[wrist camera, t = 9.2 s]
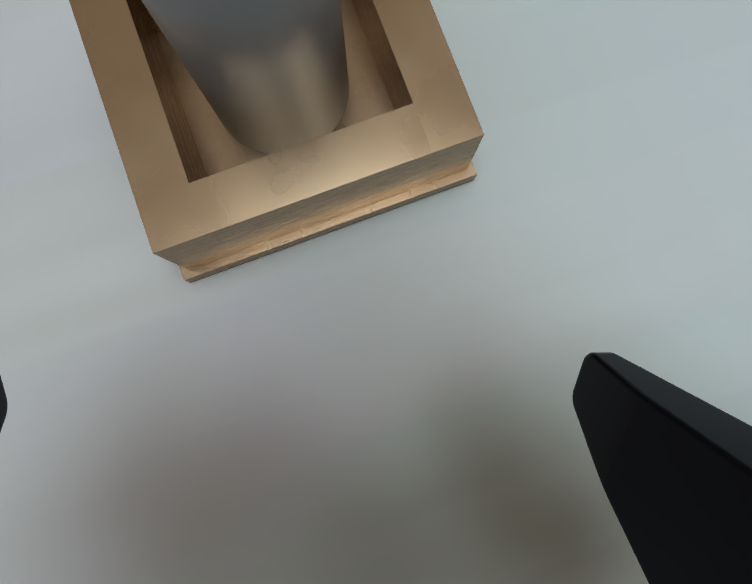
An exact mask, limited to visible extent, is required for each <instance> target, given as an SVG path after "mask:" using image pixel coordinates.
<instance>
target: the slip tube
mask: <svg viewBox="0 0 752 584" xmlns="http://www.w3.org/2000/svg"><path fill="white" fill-rule="evenodd" d="M141 1H142V2H143V4H144V5H145V7H146V8H147V10H148V11H149V13H150V15H151V16H152V18H153V19H154V21H155V22H156V24H157V25H158V27H159V28H160V30H161V31H162V33H163V34H164V36H165V37H166V39H167V40H168V42H169V43H170V45H171V46H172V48H173V49H174V51H175V52H176V54H177V55H178V57H179V59H180V60H181V62H182V63H183V65H184V66H185V68H186V69H187V71H188V72H189V74H190V75H191V77H192V78H193V80H194V81H195V83H196V84H197V86H198V87H199V89H200V90H201V92H202V93H203V95H204V96H205V98H206V99H207V101H208V102H209V104H210V106H211V107H212V109H213V110H214V112H215V113H216V115H217V116H218V118H219V119H220V121H221V122H222V124H223V125H224V127H225V128H226V129H227V130H228V132H229V133H230V134H231V135H232V136H233V137H234V138H235V139H237V140H238V141H239V142H241V143H242V144H244V145H246V146H247V147H249V148H251V149H254V150H257V151H259V152H263V153H268V154H272V153H275V152H278V151H281V150H283V149H286V148H289V147H292V146H295V145H297V144H300V143H303V142H306V141H309V140H312V139H314V138H317V137H320V136H323V135H326V134H328V133H331V132H332V131H333V130H334V129H335V127H336V126H337V125H338V123H339V122H340V120H341V118H342V117H343V114H344V112H345V109H346V106H347V102H348V96H349V79H348V69H347V59H346V49H345V39H344V29H343V19H342V9H341V0H141Z"/></svg>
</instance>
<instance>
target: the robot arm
mask: <svg viewBox="0 0 752 584" xmlns="http://www.w3.org/2000/svg"><path fill="white" fill-rule="evenodd" d="M573 405H574V408H575V411H576V414H577V417H578V419H579V422H580V425H581V428H582V431H583V433H584V436H585V439H586V442H587V445H588V448H589V450H590V453H591V456H592V459H593V462H594V464H595V467H596V470H597V473H598V475H599V478H600V480H601V483H602V485H603V488H604V490H605V492H606V494H607V497H608V499H609V501H610V503H611V505H612V507H613V509H614V511H615V514H616V516H617V518H618V520H619V522H620V524H621V526H622V528H623V530H624V532H625V534H626V537H627V539H628V541H629V543H630V545H631V547H632V549H633V551H634V553H635V555H636V557H637V559H638V562H639V564H640V566H641V568H642V570H643V572H644V574H645V576H646V578H647V580H648V582H649V584H752V426H750V425H748V424H746V423H745V422H743V421H741V420H739V419H737V418H735V417H733V416H731V415H729V414H728V413H726V412H724V411H722V410H720V409H718V408H716V407H714V406H713V405H711V404H709V403H707V402H705V401H703V400H701V399H699V398H697V397H696V396H694V395H692V394H690V393H688V392H686V391H684V390H682V389H680V388H679V387H677V386H675V385H673V384H671V383H669V382H667V381H665V380H663V379H662V378H660V377H658V376H656V375H654V374H652V373H650V372H648V371H647V370H645V369H643V368H641V367H639V366H637V365H635V364H633V363H631V362H630V361H628V360H626V359H624V358H622V357H620V356H618V355H616V354H614V353H610V352H607V353H590V354H588V355H587V356H586V357H585V358H584V361H583V363H582V366H581V369H580V372H579V375H578V378H577V381H576V384H575V387H574V391H573ZM6 414H7V398H6V394H5V390H4V387H3V383H2V380H1V376H0V432H1V429H2V426H3V423H4V420H5V417H6Z"/></svg>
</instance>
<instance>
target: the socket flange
mask: <svg viewBox="0 0 752 584" xmlns="http://www.w3.org/2000/svg"><path fill="white" fill-rule="evenodd" d="M69 1H70V4H71V7H72V10H73V13H74V16H75V19H76V22H77V25H78V28H79V32H80V35H81V38H82V41H83V44H84V47H85V50H86V53H87V56H88V59H89V62H90V65H91V68H92V71H93V74H94V77H95V80H96V83H97V86H98V89H99V92H100V95H101V98H102V101H103V104H104V107H105V110H106V113H107V116H108V119H109V122H110V125H111V128H112V131H113V134H114V137H115V140H116V143H117V146H118V149H119V152H120V155H121V158H122V161H123V164H124V167H125V170H126V173H127V177H128V180H129V183H130V186H131V189H132V192H133V195H134V198H135V201H136V204H137V207H138V210H139V213H140V216H141V219H142V222H143V225H144V228H145V231H146V234H147V237H148V240H149V243H150V246H151V249H152V252H153V254H155V255H158V256H160V257H162V258H164V259H166V260H168V261H171V262H173V263H175V264H177V265H179V266H180V269H181V272H182V275H183V278H184V280H185V281H188V282H193V281H196V280H199V279H201V278H204V277H207V276H210V275H213V274H215V273H218V272H221V271H224V270H226V269H229V268H232V267H235V266H237V265H240V264H243V263H246V262H248V261H251V260H254V259H257V258H259V257H262V256H265V255H268V254H270V253H273V252H276V251H279V250H282V249H284V248H287V247H290V246H293V245H295V244H298V243H301V242H304V241H306V240H309V239H312V238H315V237H317V236H320V235H323V234H326V233H328V232H331V231H334V230H337V229H339V228H342V227H345V226H348V225H351V224H353V223H356V222H359V221H362V220H364V219H367V218H370V217H373V216H375V215H378V214H381V213H384V212H386V211H389V210H392V209H395V208H397V207H400V206H403V205H406V204H408V203H411V202H414V201H417V200H419V199H422V198H425V197H428V196H431V195H433V194H436V193H439V192H442V191H444V190H447V189H450V188H453V187H455V186H458V185H461V184H464V183H466V182H469V181H472V180H474V179H475V177H476V175H477V173H476V171H475V168H474V166H473V163H472V161H471V160H472V158H473V156H474V154H475V152H476V150H477V148H478V146H479V144H480V142H481V140H482V138H483V135H484V133H483V131H482V128H481V126H480V123H479V121H478V118H477V116H476V113H475V111H474V108H473V106H472V103H471V101H470V99H469V96H468V94H467V91H466V89H465V86H464V84H463V81H462V79H461V76H460V74H459V71H458V69H457V66H456V64H455V62H454V59H453V57H452V54H451V52H450V49H449V47H448V44H447V42H446V39H445V37H444V34H443V32H442V30H441V27H440V25H439V22H438V20H437V17H436V15H435V12H434V10H433V7H432V5H431V2H430V0H341V9H342V19H343V29H344V39H345V49H346V59H347V69H348V79H349V96H348V102H347V106H346V109H345V112H344V114H343V117H342V118H341V120H340V122H339V123H338V125H337V126H336V127H335V129H334V130H333V131H332V132H331V133H328V134H326V135H323V136H320V137H317V138H314V139H312V140H309V141H306V142H303V143H300V144H297V145H295V146H292V147H289V148H286V149H283V150H281V151H278V152H275V153H272V154H268V153H263V152H259V151H257V150H254V149H251V148H249V147H247V146H246V145H244V144H242V143H241V142H239V141H238V140H237V139H235V138H234V137H233V136H232V135H231V134H230V133H229V132H228V130H227V129H226V128H225V127H224V125H223V124H222V122H221V121H220V119H219V118H218V116H217V115H216V113H215V112H214V110H213V109H212V107H211V106H210V104H209V102H208V101H207V99H206V98H205V96H204V95H203V93H202V92H201V90H200V89H199V87H198V86H197V84H196V83H195V81H194V80H193V78H192V77H191V75H190V74H189V72H188V71H187V69H186V68H185V66H184V65H183V63H182V62H181V60H180V59H179V57H178V55H177V54H176V52H175V51H174V49H173V48H172V46H171V45H170V43H169V42H168V40H167V39H166V37H165V36H164V34H163V33H162V31H161V30H160V28H159V27H158V25H157V24H156V22H155V21H154V19H153V18H152V16H151V15H150V13H149V11H148V10H147V8H146V7H145V5H144V4H143V2H142V1H141V0H69Z"/></svg>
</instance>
